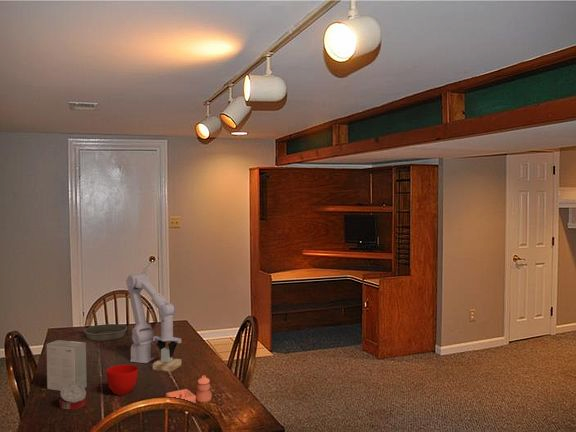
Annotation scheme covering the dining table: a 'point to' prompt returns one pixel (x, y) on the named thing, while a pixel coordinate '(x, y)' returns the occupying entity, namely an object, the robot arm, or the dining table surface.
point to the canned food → (72, 396)
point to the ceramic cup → (122, 378)
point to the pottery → (201, 394)
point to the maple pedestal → (167, 365)
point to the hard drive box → (65, 363)
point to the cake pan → (105, 332)
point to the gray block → (165, 355)
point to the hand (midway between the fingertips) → (167, 356)
